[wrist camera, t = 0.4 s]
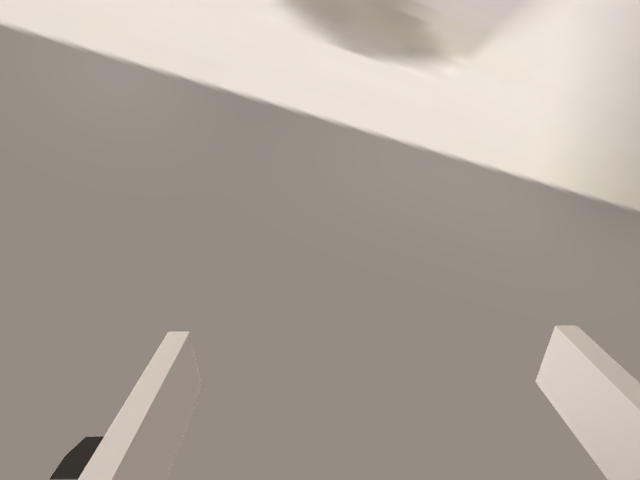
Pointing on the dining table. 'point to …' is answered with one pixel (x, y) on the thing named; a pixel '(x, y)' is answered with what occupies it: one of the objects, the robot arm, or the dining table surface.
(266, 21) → the dining table surface
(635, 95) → the dining table surface
